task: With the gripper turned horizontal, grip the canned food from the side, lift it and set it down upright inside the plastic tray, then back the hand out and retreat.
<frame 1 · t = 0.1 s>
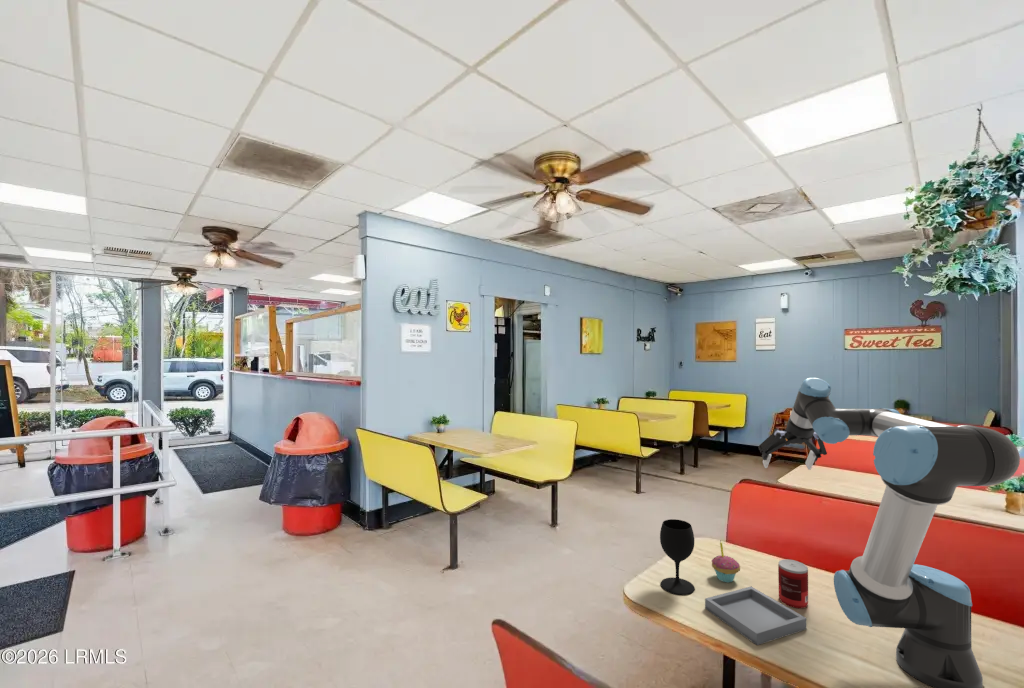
hand: (786, 465, 160), 36 cm above the table, tool tilted 35°, fingers open, 13 cm apart
wine glass: (677, 587, 151), on the table
cupcake: (725, 579, 156), on the table
canned food: (793, 602, 142), on the table
tray: (753, 618, 133), on the table
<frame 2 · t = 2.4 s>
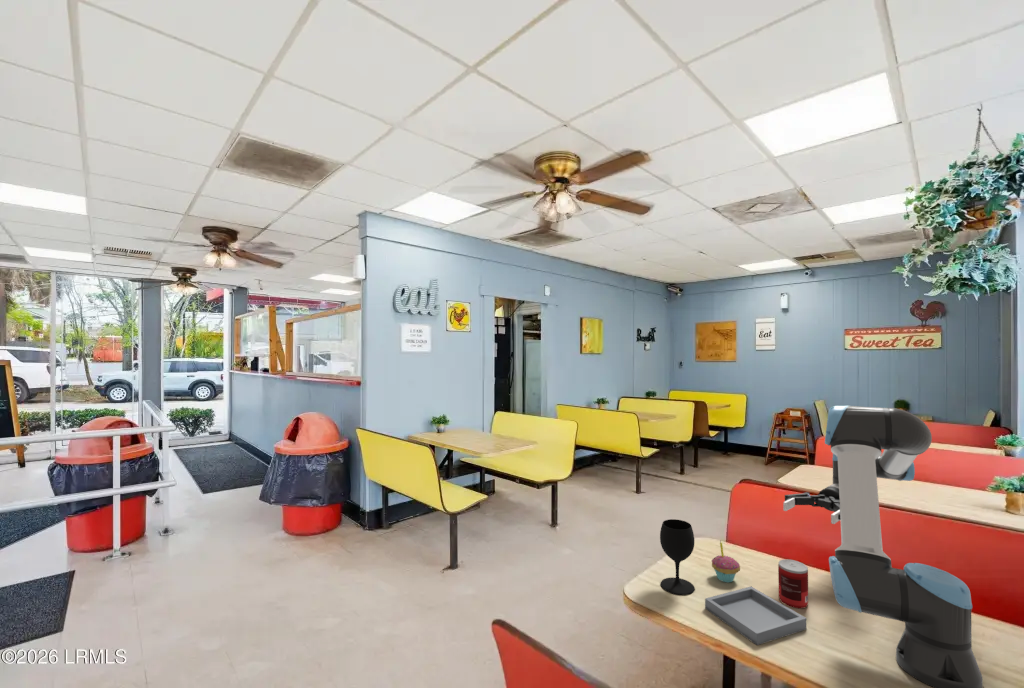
hand: (807, 512, 147), 24 cm above the table, tool horizontal, fingers open, 13 cm apart
nothing on the table moved.
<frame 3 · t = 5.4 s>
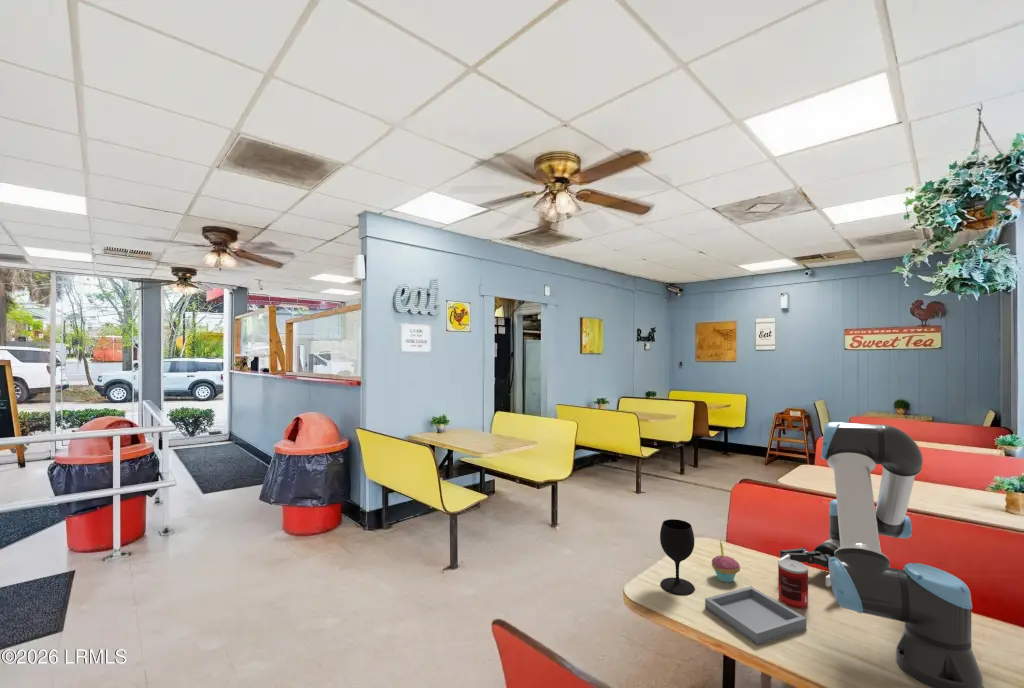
hand: (802, 572, 146), 6 cm above the table, tool horizontal, fingers open, 13 cm apart
nothing on the table moved.
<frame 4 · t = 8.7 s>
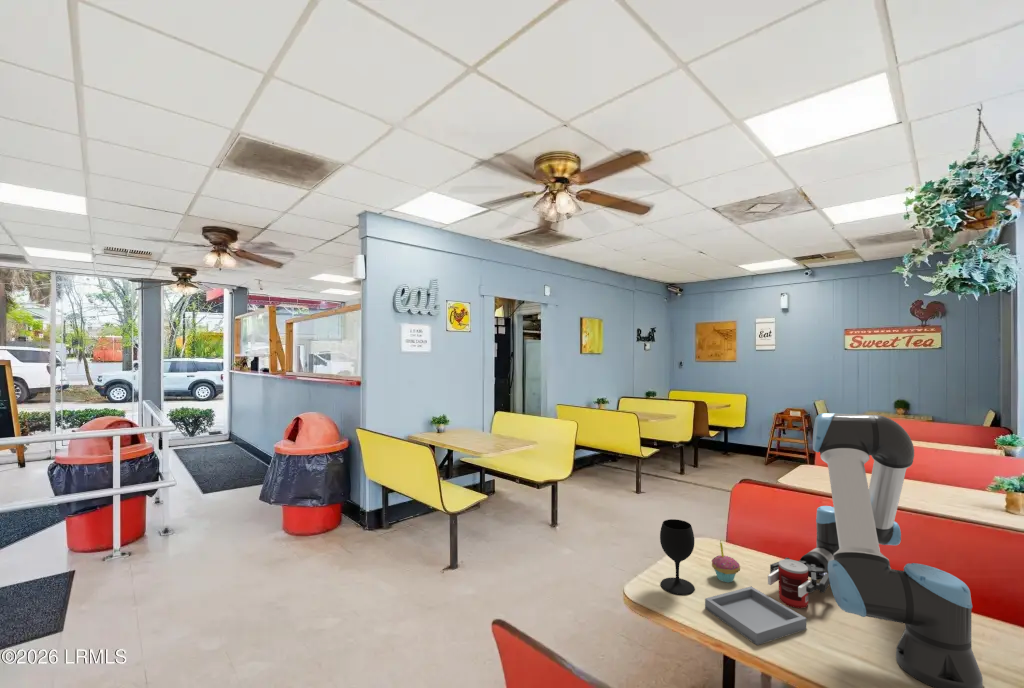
hand: (784, 586, 138), 7 cm above the table, tool horizontal, fingers closed on canned food, 8 cm apart
canned food: (793, 602, 142), on the table, touching gripper
everything else where it was.
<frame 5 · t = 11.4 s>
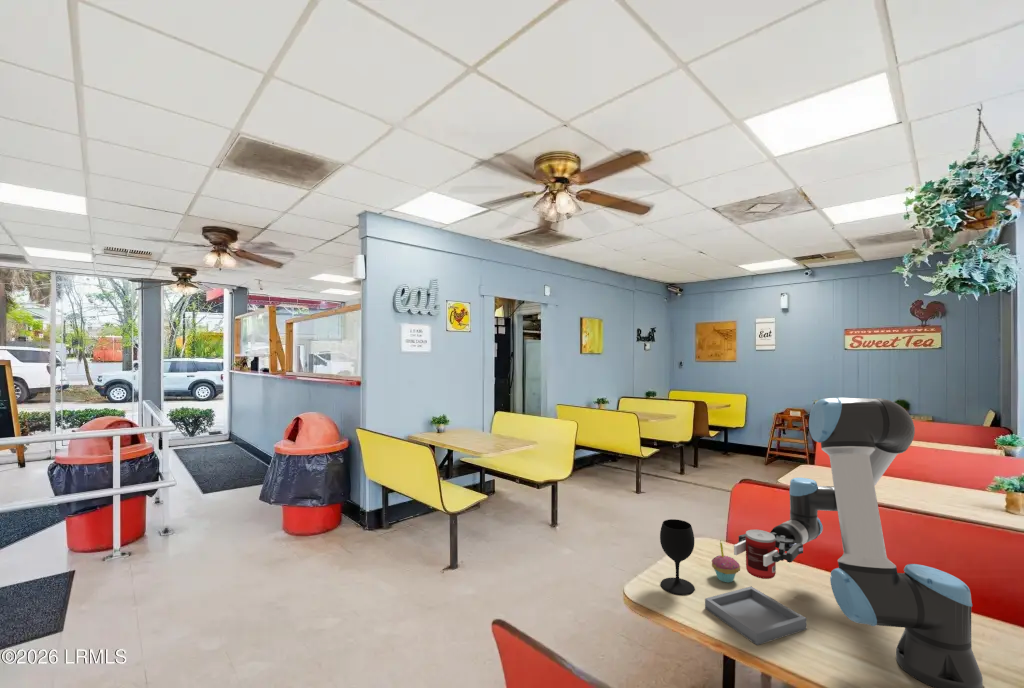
hand: (749, 555, 133), 18 cm above the table, tool horizontal, fingers closed on canned food, 8 cm apart
canned food: (760, 573, 136), point 11 cm above the table, touching gripper
everything else where it was.
when the fingers open (9 cm above the table, at t = 14.5 s): canned food drops 1 cm, resting on tray.
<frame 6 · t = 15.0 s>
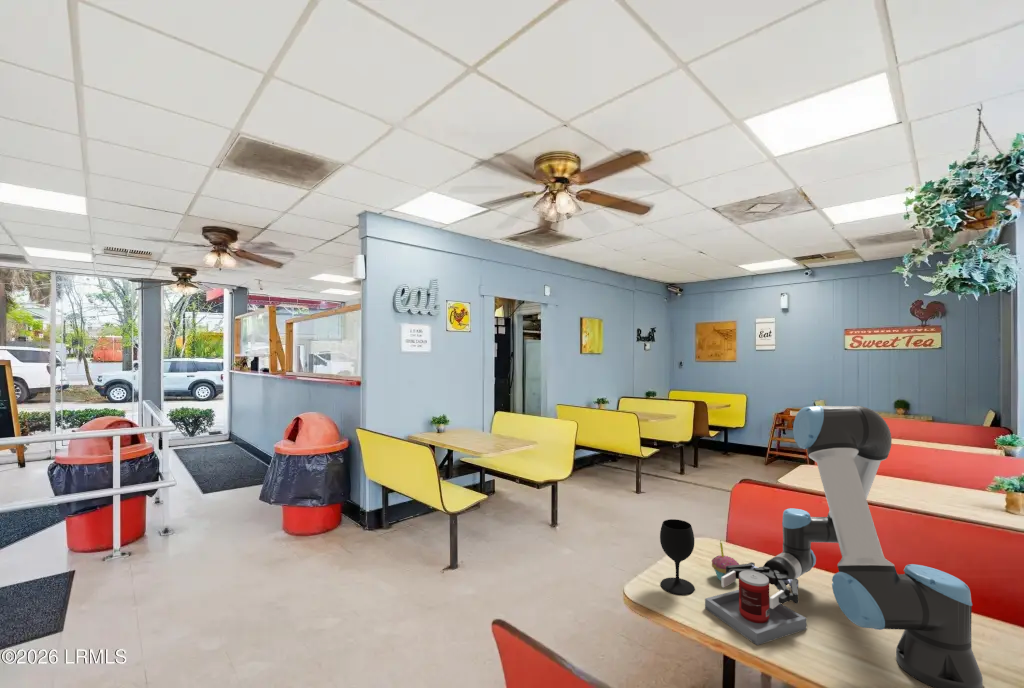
hand: (745, 592, 131), 9 cm above the table, tool horizontal, fingers open, 13 cm apart
canned food: (754, 616, 133), point 1 cm above the table, touching tray
everything else where it was.
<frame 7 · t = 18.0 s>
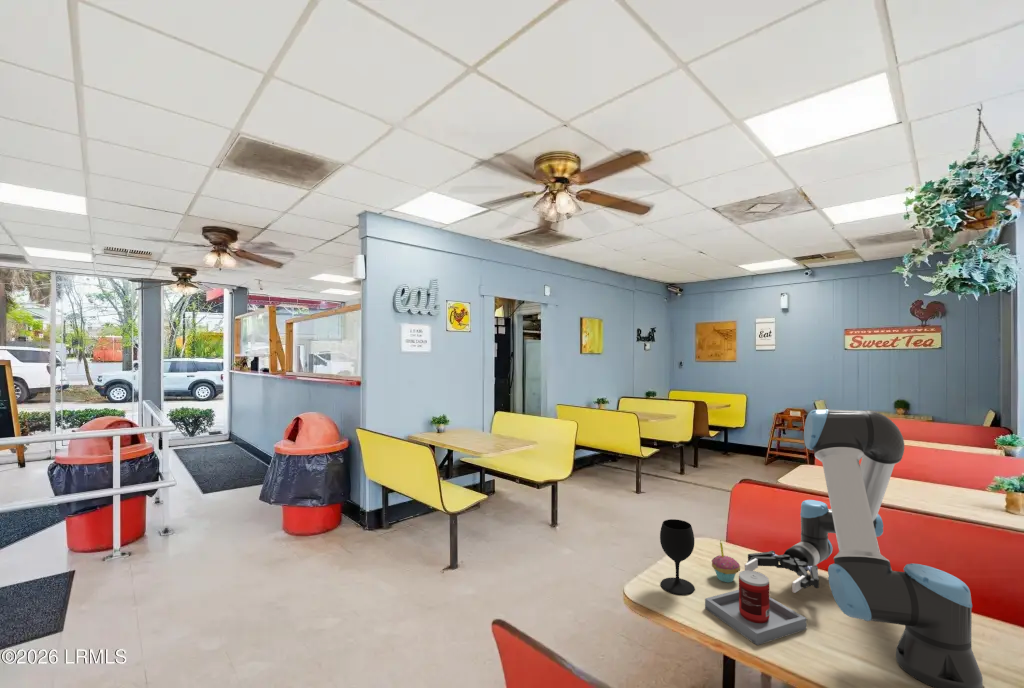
hand: (768, 577, 138), 9 cm above the table, tool horizontal, fingers open, 13 cm apart
nothing on the table moved.
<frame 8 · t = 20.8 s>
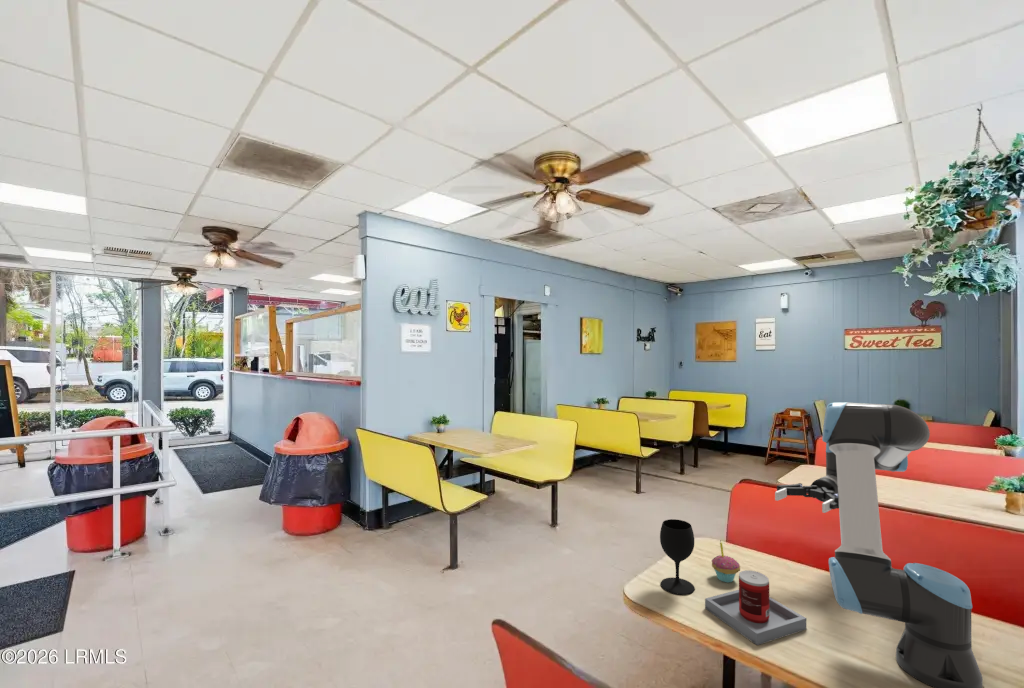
hand: (798, 502, 147), 28 cm above the table, tool horizontal, fingers open, 13 cm apart
nothing on the table moved.
at the end: canned food inside the target area on the tray (0.1 cm from its centre), point 0.6 cm above the tray's base; canned food tilted 0°; the gripper is holding nothing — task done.
